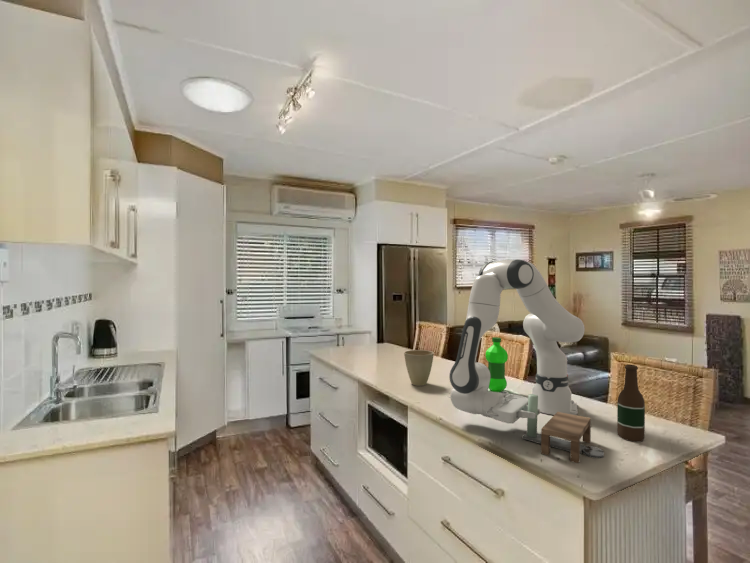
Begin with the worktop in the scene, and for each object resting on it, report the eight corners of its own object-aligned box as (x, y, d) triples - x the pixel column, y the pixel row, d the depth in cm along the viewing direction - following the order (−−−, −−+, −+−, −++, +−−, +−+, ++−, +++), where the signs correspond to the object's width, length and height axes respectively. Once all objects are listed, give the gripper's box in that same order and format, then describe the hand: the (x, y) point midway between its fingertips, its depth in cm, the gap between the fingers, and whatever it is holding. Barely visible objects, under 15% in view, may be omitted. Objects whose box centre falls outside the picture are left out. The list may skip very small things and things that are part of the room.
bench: (557, 433, 134) (557, 411, 134) (590, 441, 127) (590, 418, 127) (541, 453, 118) (541, 428, 118) (578, 463, 112) (578, 436, 112)
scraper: (522, 438, 128) (524, 396, 128) (528, 433, 133) (529, 392, 132) (580, 454, 117) (582, 408, 117) (584, 447, 122) (586, 403, 122)
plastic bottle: (482, 387, 192) (482, 336, 192) (503, 387, 192) (503, 336, 193) (488, 393, 182) (489, 339, 182) (511, 393, 182) (511, 339, 183)
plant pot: (418, 379, 209) (418, 348, 209) (439, 384, 197) (440, 352, 197) (397, 383, 199) (397, 351, 199) (418, 389, 188) (418, 356, 188)
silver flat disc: (584, 448, 122) (584, 444, 122) (605, 453, 118) (605, 449, 118) (580, 454, 118) (580, 450, 118) (601, 460, 114) (601, 455, 114)
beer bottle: (614, 431, 136) (615, 362, 136) (641, 435, 133) (641, 364, 133) (619, 440, 129) (620, 366, 129) (647, 443, 126) (648, 368, 126)
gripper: (484, 403, 128) (527, 412, 120) (505, 390, 144) (545, 397, 136) (483, 422, 128) (527, 433, 120) (505, 407, 144) (545, 415, 136)
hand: (537, 413), depth 128 cm, fingers closed on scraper, 3 cm apart
